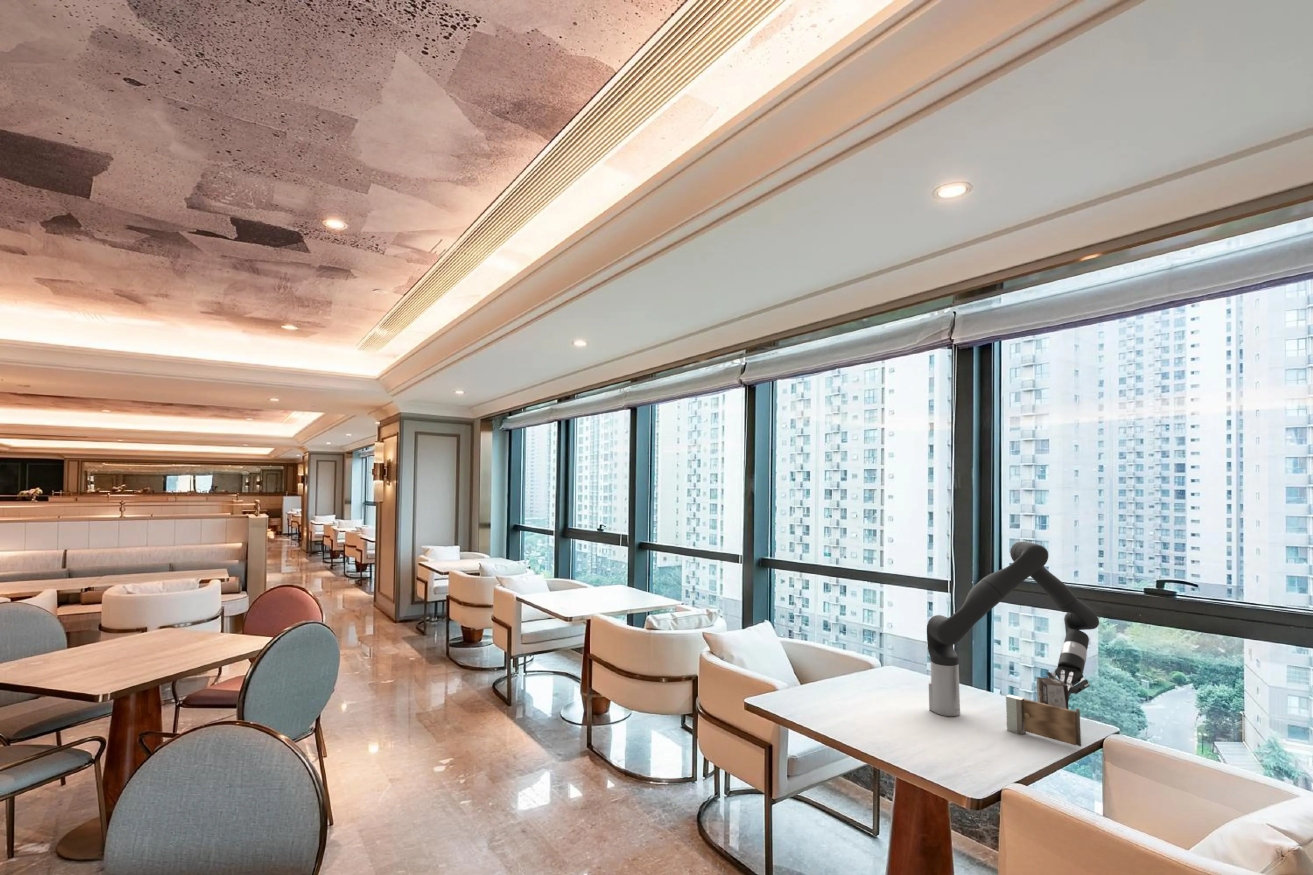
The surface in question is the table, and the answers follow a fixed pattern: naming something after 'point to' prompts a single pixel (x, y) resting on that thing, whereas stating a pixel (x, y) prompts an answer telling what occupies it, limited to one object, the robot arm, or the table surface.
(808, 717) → the table surface
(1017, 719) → the grey tall block
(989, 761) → the table surface
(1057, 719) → the wooden slab
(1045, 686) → the coffee box
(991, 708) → the table surface
